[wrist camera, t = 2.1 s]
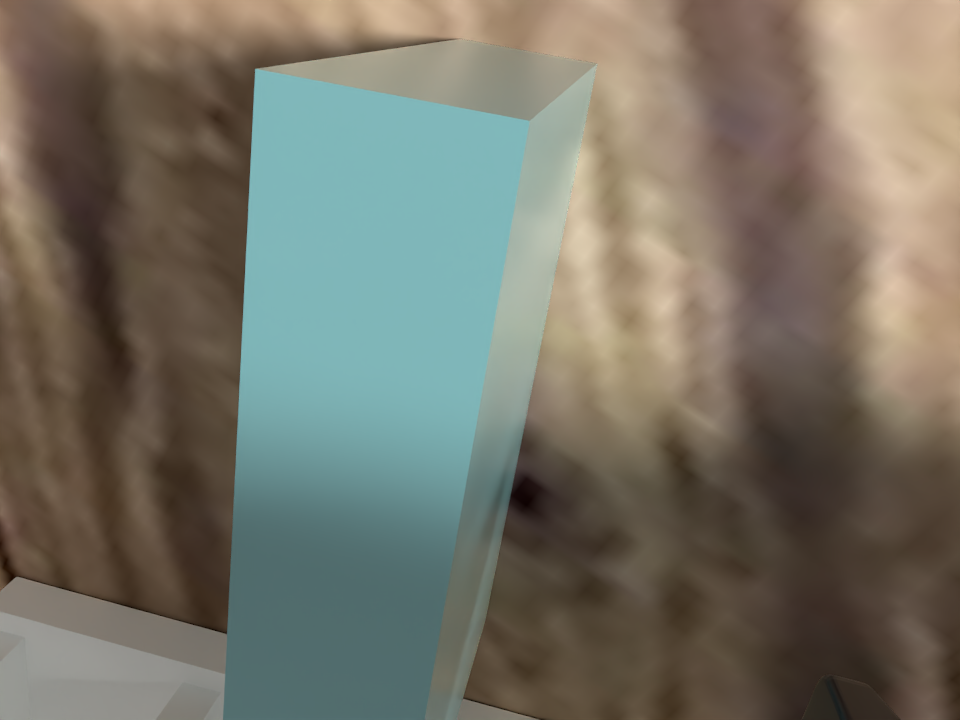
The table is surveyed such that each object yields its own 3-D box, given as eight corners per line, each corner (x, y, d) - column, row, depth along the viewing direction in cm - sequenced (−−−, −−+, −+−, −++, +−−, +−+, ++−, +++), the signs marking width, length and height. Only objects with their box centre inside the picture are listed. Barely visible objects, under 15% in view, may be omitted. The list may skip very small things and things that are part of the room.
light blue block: (597, 62, 12) (531, 120, 6) (486, 616, 16) (374, 1006, 10) (461, 38, 13) (255, 69, 6) (385, 590, 17) (211, 954, 10)
